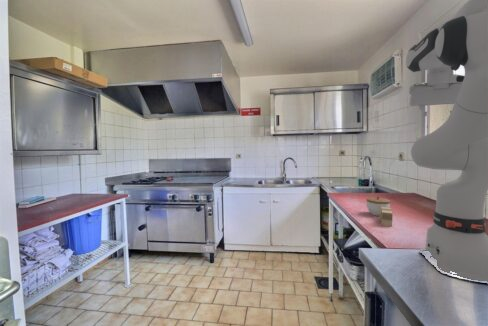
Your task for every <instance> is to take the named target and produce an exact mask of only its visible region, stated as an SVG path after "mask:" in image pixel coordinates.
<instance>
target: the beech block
mask: <svg viewBox="0 0 488 326" xmlns="http://www.w3.org/2000/svg"><path fill="white" fill-rule="evenodd" d="M380 224H381V226H386V227H393V211H392V208H391V206H390V207H382V206H381V216H380Z"/></svg>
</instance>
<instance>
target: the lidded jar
mask: <svg viewBox="0 0 488 326" xmlns="http://www.w3.org/2000/svg"><path fill="white" fill-rule="evenodd" d="M390 204H391V200H389V199H387V198H384V197H383V198H382V197H380V196H376V197H373V196H372V197H371V196H370V197H367V198H366V207H367V210H368V212H369V213H370V214H371V215H373V216H379V217H381V206H382V207H390V208H391V206H390Z"/></svg>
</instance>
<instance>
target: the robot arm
mask: <svg viewBox="0 0 488 326" xmlns="http://www.w3.org/2000/svg"><path fill="white" fill-rule="evenodd" d="M405 64H406V68H407V69H408V70H409V71H410V72H412V73H416V72H421V71H427V70H428V72H427V74H426V82H422V83H415V84H412V85H411V86H410V87H409V91H408V92H409V95H410V97H409V105H410V106H411V107H418V109H419V110H420V112H421V117H427V116H428V111H425V110H424V108H425V106H436V105H441V106H442V105H453V107H452V108H451V110H450V111H449V115H448V117H447V119H446V121H444V123H443V124H442V125H440V126H439V127H437V129H436V130H434V131H432V132H430V133H429V134H428V133H427V134H426V135H424V136H422V137H419V138H417V139H416V140H415V142H414V143H413V144H412V147H411V150H410V155H411V159H412V161H413V162H414V163H415V165H417V166H418V167H421V168H426V169H432V170H440V171H461V173H460V175H459V176H458V177H457V178H456V179H453V180H450V181H447V182H445V183H443V184H441V185H440V186H439V187H438V188H437V190H436V202H435V211H434V212H433V216H432V218H433V224H432V225H431V226H430V227H428V228H427V230H426V237H425V238H426V239H425V247H422V248H419V250H420V251H422V252H423V251H429V252H430V253H431V255H432V256H430V258H431V257H433V258H434V259H436V260H437V266H438V268H439V269H440V268H441V269H440V270H442V271H444V272H447V273H450V271H452V272H455V273H457V274H453V275H457V276H460V277H463V278H467V279H471V280H478V281H487V282H488V235H487V233H485V232H486V230H487V229H486V220H485V218H484V210H485V209H484V208H485V203H486V202H485V201H486V196H487V193H488V0H468V1H466V3H464V4H463V6H462V7H460V9H458V11H457V12H456V13H455V15H454V16H453V17H451V18H450V19H449V20H447V21H446V22H445V23H442V24H441V25H440V26H438V27H436V28H435V29H433V30H431V31H429V33H428V32H427V34H426V35H425V36H424V37H423V38H422V39H421V40H420V41H419V42H418V43H416V44H414V45H413V46H412V47H410V49H409V50H408V52H407V54H406V57H405ZM461 66H463V69H464V74H463V75H462V74H457V73H456V71H458V70H459V69H460V68H461ZM450 274H452V273H450Z"/></svg>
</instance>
